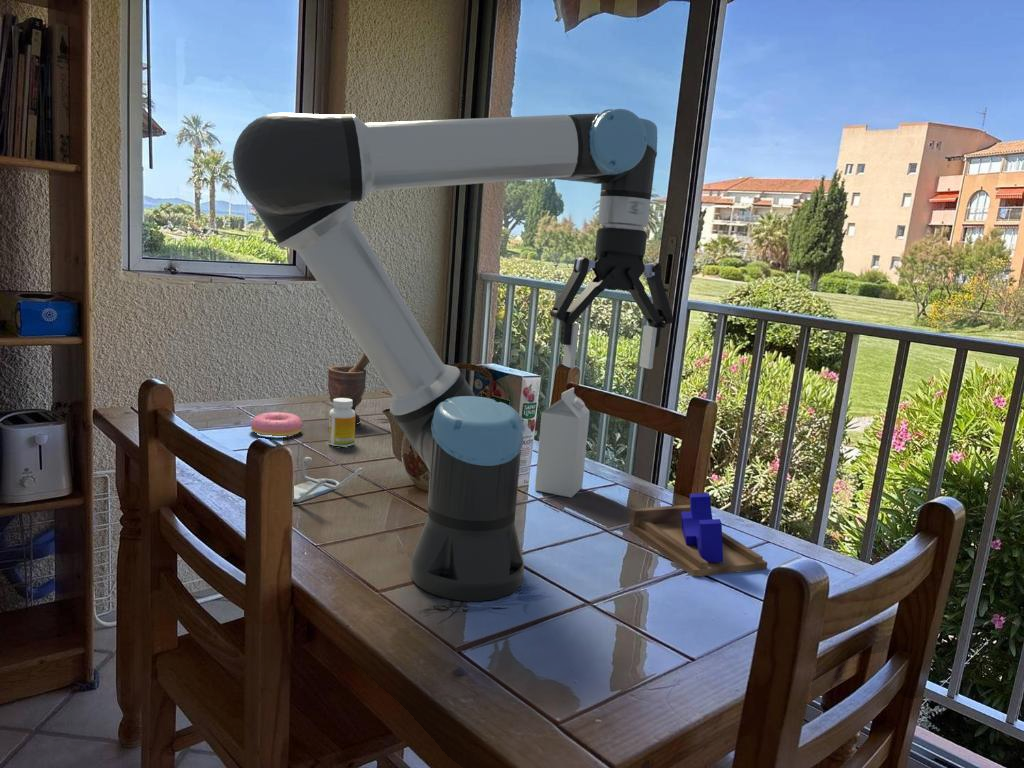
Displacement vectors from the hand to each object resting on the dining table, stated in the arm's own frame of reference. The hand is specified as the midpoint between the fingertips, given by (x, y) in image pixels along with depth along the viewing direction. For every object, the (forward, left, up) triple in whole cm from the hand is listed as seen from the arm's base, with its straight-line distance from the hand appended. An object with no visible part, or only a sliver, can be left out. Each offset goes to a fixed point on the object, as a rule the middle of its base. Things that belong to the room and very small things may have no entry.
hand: (607, 367), depth 115 cm
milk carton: (+3, +19, -27) cm, 33 cm away
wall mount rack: (-41, +22, -27) cm, 54 cm away
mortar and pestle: (-27, +71, -27) cm, 81 cm away
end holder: (+13, -10, -27) cm, 31 cm away
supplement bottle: (-32, +53, -27) cm, 68 cm away
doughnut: (-44, +63, -27) cm, 82 cm away
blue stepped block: (+13, -12, -26) cm, 31 cm away
